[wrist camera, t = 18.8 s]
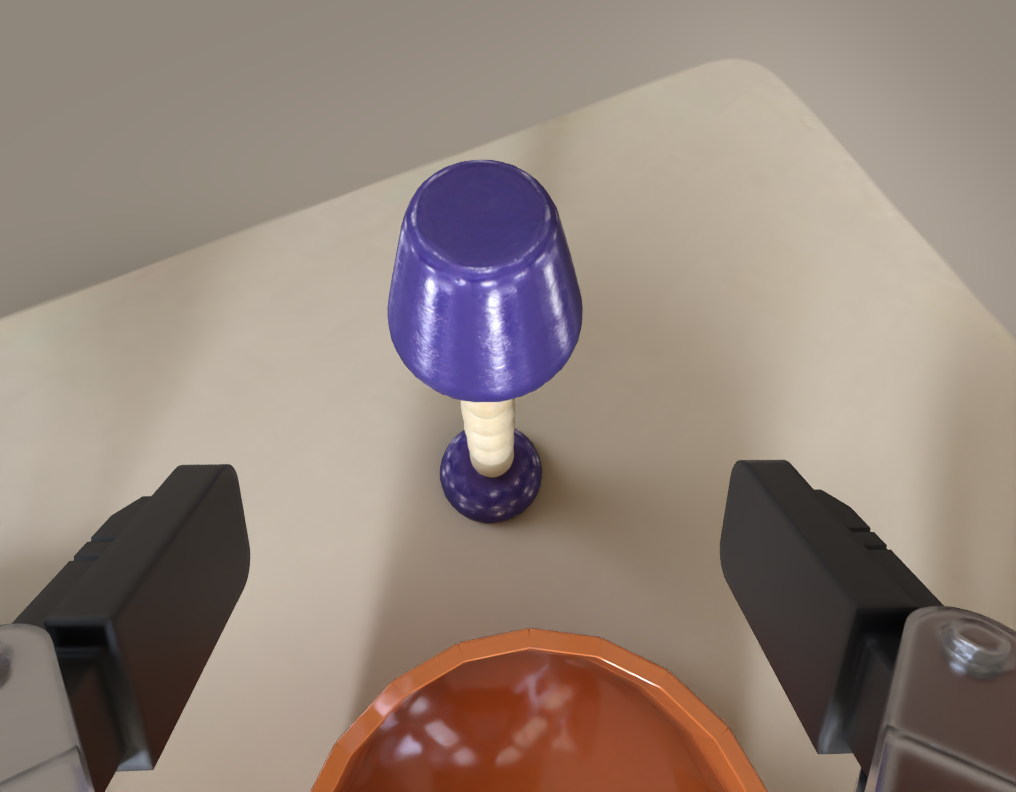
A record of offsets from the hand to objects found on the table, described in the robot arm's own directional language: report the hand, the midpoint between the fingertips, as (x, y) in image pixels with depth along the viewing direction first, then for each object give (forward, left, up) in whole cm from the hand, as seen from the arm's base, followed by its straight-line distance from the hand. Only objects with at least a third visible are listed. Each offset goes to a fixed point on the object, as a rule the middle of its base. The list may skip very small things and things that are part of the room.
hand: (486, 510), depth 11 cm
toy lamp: (+1, +5, -16) cm, 17 cm away
